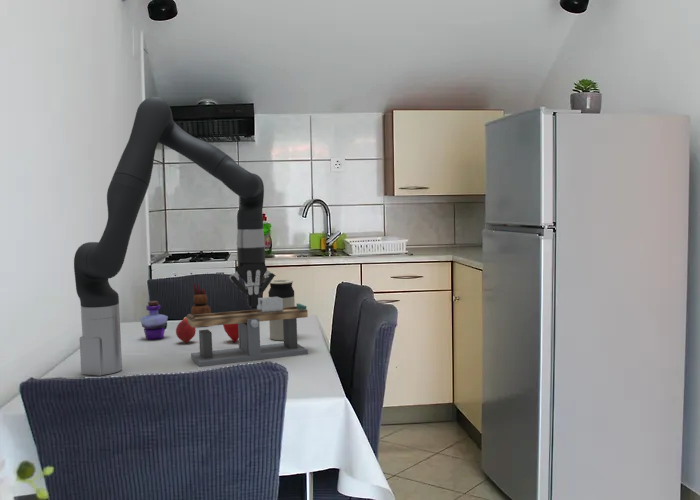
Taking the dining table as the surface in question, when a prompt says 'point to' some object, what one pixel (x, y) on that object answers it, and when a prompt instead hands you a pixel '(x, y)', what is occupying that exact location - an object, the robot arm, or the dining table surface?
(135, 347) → the dining table surface
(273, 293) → the travel mug
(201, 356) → the pivot stand
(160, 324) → the potion bottle
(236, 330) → the strawberry
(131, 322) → the dining table surface
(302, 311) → the beam
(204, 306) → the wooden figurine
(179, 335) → the pomegranate
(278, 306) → the block
